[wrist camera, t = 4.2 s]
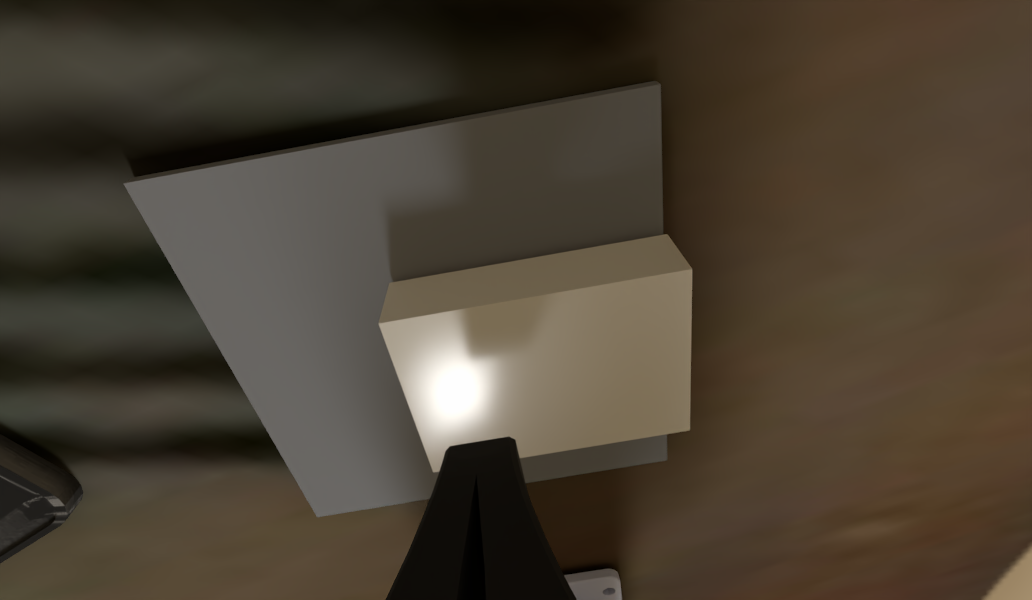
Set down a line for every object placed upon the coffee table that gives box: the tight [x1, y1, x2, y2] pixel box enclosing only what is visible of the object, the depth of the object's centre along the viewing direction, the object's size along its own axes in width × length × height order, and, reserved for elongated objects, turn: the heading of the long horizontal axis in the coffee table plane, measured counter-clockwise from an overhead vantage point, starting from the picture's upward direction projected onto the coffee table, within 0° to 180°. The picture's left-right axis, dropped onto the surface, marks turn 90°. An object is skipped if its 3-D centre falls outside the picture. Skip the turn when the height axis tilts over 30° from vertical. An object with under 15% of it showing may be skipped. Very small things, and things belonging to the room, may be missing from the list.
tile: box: [378, 234, 692, 472], centre depth 14 cm, size 5×2×7 cm
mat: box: [123, 81, 667, 517], centre depth 15 cm, size 12×12×1 cm
